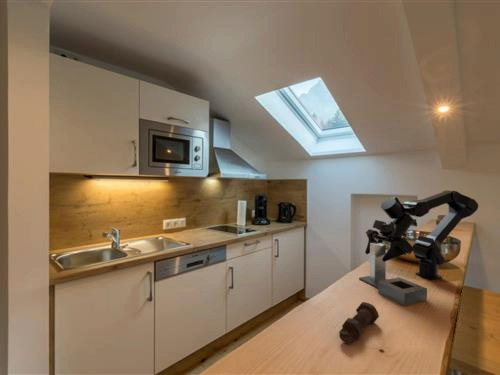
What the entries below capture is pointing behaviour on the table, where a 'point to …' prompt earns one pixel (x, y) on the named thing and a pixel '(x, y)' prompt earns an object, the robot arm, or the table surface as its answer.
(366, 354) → the table surface
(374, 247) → the steel peg
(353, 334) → the bolt
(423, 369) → the table surface
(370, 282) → the rubber mat
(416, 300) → the socket block
